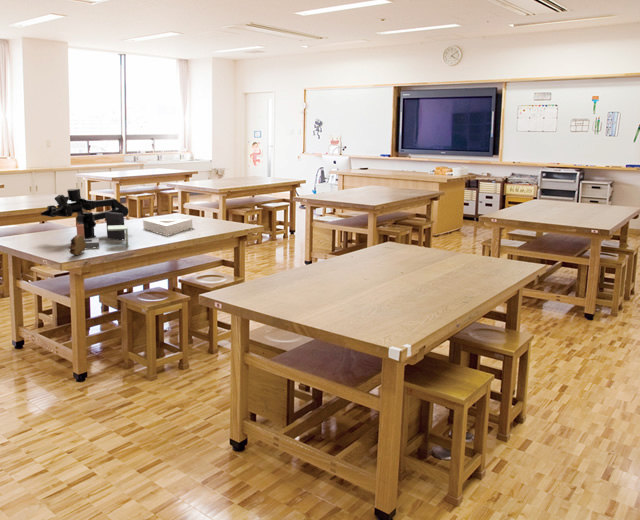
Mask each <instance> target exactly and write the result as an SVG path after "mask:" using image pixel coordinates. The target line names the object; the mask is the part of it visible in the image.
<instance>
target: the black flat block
mask: <svg viewBox="0 0 640 520" xmlns="http://www.w3.org/2000/svg"><path fill="white" fill-rule="evenodd" d="M105 221H106V236H107V237H106V238H107V239H108V238H110V239H109V240H116V239H119V240H118V241H123V240H122V239H124V240H126V230H116V231H108V226H114V225H125V216H124V214H123V213H115V212H107V213H105Z"/></svg>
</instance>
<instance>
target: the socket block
mask: <svg viewBox="0 0 640 520" xmlns="http://www.w3.org/2000/svg"><path fill="white" fill-rule="evenodd" d="M83 242H86V246H85V248H88V249H94V248H93V247H96V248H95V249H98V248H97V247H99V248H100V238H85V239H84V240H83Z"/></svg>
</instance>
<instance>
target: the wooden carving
mask: <svg viewBox="0 0 640 520" xmlns="http://www.w3.org/2000/svg"><path fill="white" fill-rule="evenodd" d="M83 240H84V236H83V235H77V234H76V235H75V236H73V237H72V238H71V239H70V246H69V247H68V249H69V254H71V255H74V256H79V255H78V254H80V253H81V254H82V253H83V252H85V250H86V249H85V246H86V242H83ZM81 254H80V255H81Z"/></svg>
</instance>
